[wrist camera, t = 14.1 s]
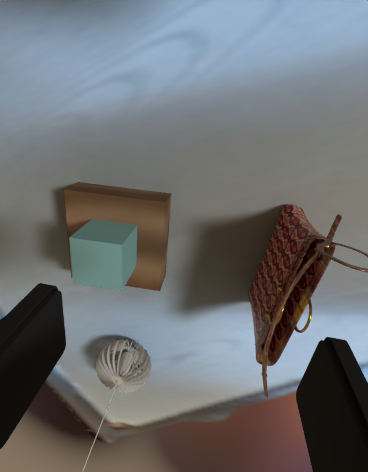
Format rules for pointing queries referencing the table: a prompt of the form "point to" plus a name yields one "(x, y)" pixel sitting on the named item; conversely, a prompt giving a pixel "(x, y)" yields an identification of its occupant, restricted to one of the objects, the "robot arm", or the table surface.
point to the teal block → (103, 254)
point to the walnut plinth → (130, 212)
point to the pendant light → (122, 368)
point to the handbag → (288, 282)
